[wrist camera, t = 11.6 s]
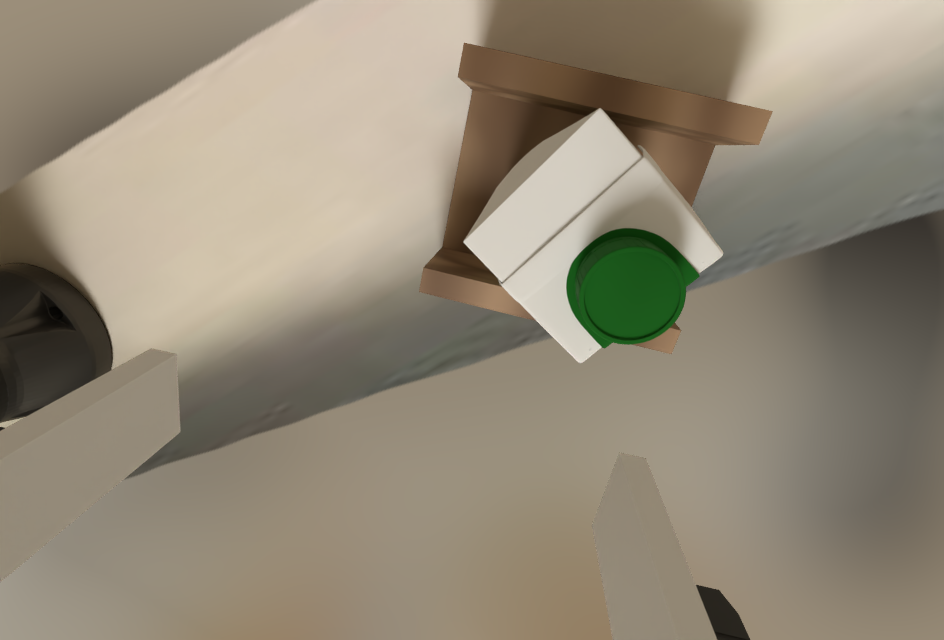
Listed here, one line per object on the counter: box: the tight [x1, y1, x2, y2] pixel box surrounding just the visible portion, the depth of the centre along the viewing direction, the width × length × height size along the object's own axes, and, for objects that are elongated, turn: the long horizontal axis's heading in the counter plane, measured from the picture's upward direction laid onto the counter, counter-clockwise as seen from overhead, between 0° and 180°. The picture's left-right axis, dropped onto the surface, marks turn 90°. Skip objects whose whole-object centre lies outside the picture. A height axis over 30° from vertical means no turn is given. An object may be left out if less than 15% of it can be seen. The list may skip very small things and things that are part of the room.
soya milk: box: [463, 108, 723, 363], centre depth 27 cm, size 9×9×20 cm
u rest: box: [419, 43, 773, 354], centre depth 33 cm, size 18×16×8 cm
